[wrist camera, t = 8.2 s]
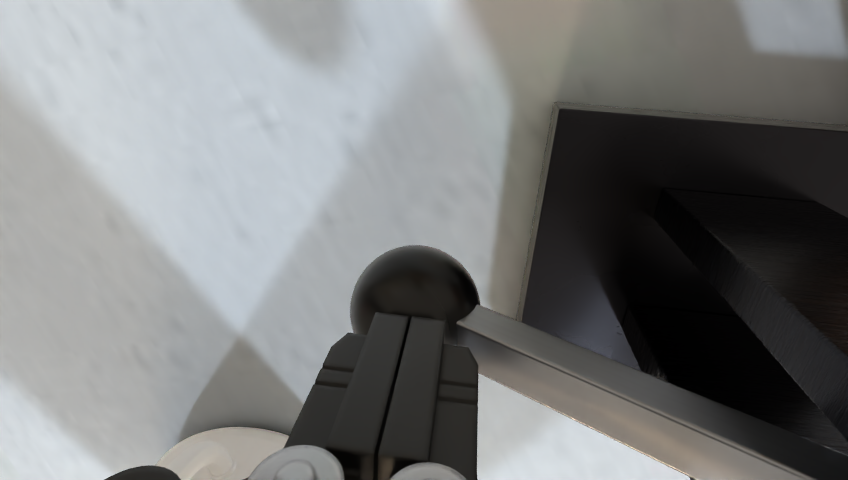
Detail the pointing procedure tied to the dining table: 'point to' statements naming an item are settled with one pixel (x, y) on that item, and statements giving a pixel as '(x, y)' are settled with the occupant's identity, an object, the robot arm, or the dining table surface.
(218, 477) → the coffeepot
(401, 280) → the lever
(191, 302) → the dining table surface
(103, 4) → the dining table surface
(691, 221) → the lever base
